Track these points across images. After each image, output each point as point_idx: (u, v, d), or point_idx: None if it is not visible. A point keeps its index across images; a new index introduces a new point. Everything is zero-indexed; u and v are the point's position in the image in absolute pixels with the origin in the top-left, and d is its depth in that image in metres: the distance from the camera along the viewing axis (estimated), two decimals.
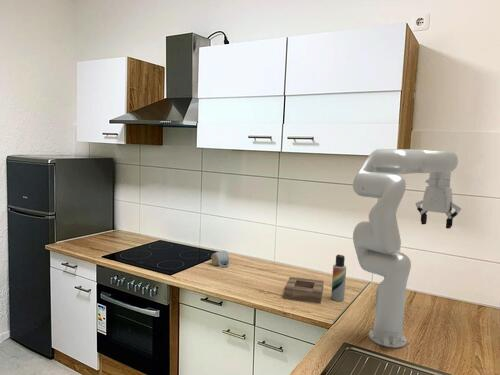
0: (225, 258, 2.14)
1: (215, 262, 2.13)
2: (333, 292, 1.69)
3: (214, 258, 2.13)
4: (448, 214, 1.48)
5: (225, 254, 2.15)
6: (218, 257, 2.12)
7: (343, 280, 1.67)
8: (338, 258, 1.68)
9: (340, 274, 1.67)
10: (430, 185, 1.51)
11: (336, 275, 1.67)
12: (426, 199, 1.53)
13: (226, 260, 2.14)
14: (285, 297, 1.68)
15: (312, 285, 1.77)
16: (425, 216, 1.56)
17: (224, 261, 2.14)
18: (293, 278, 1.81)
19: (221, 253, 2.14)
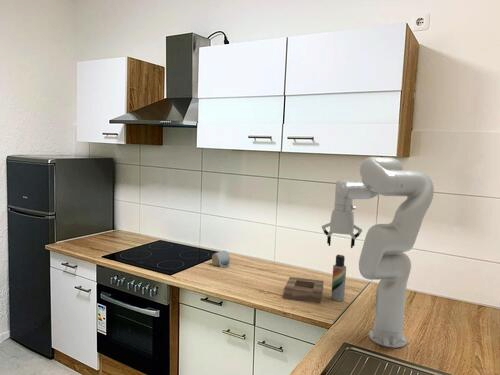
0: (226, 258, 2.13)
1: (216, 262, 2.12)
2: (333, 292, 1.69)
3: (215, 258, 2.13)
4: None
5: (226, 254, 2.14)
6: (219, 258, 2.11)
7: (343, 280, 1.67)
8: (338, 258, 1.68)
9: (340, 274, 1.67)
10: None
11: (336, 275, 1.67)
12: None
13: (227, 260, 2.14)
14: (285, 297, 1.68)
15: (312, 285, 1.77)
16: (351, 240, 1.67)
17: (225, 261, 2.13)
18: (293, 278, 1.81)
19: (222, 253, 2.14)
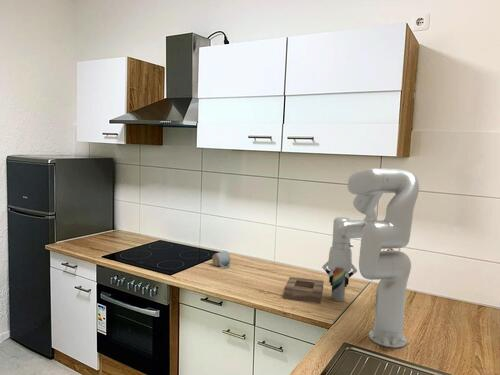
0: (226, 259, 2.13)
1: (216, 263, 2.12)
2: (333, 292, 1.69)
3: (215, 259, 2.12)
4: None
5: (226, 255, 2.14)
6: (219, 258, 2.11)
7: (343, 280, 1.67)
8: None
9: (340, 274, 1.67)
10: None
11: (336, 275, 1.67)
12: None
13: (227, 261, 2.13)
14: (285, 297, 1.68)
15: (312, 285, 1.77)
16: (345, 279, 1.69)
17: (225, 262, 2.13)
18: (293, 278, 1.81)
19: (222, 254, 2.13)
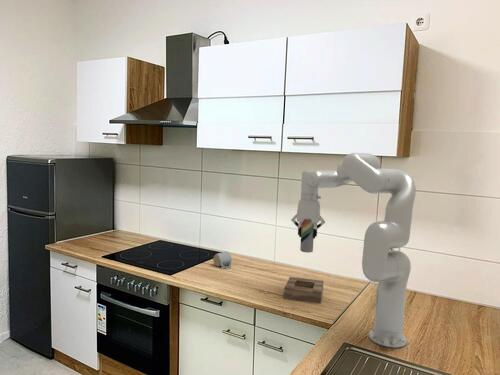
0: (227, 259, 2.12)
1: (217, 263, 2.11)
2: (302, 244, 1.71)
3: (216, 259, 2.11)
4: None
5: (227, 255, 2.13)
6: (220, 258, 2.10)
7: (311, 231, 1.69)
8: None
9: (308, 225, 1.69)
10: None
11: (304, 226, 1.69)
12: None
13: (228, 261, 2.13)
14: (285, 297, 1.68)
15: (312, 285, 1.77)
16: None
17: (226, 262, 2.12)
18: (293, 278, 1.81)
19: (223, 254, 2.13)
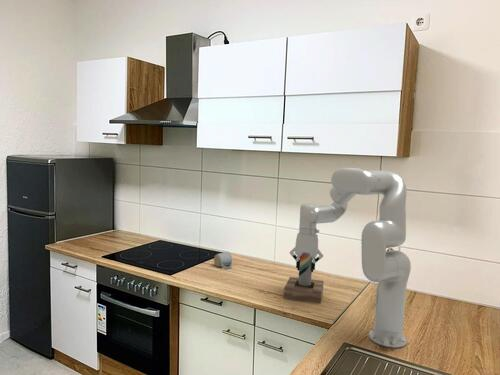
0: (228, 259, 2.12)
1: (218, 263, 2.10)
2: (300, 277, 1.72)
3: (217, 259, 2.11)
4: None
5: (228, 255, 2.12)
6: (221, 259, 2.09)
7: (309, 265, 1.71)
8: None
9: (306, 259, 1.70)
10: None
11: (302, 260, 1.71)
12: None
13: (229, 261, 2.12)
14: (285, 297, 1.68)
15: (312, 285, 1.77)
16: None
17: (227, 262, 2.11)
18: (293, 278, 1.81)
19: (224, 254, 2.12)
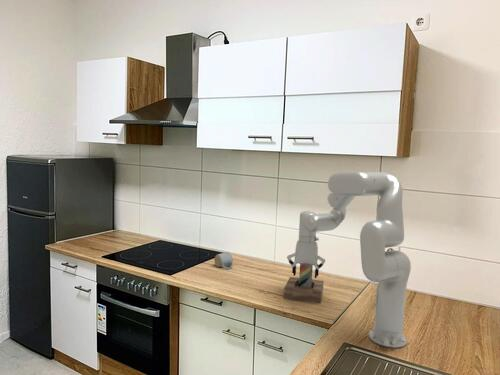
0: (228, 260, 2.11)
1: (218, 264, 2.10)
2: None
3: (217, 260, 2.10)
4: None
5: (228, 256, 2.12)
6: (222, 259, 2.09)
7: (309, 276, 1.71)
8: None
9: (306, 270, 1.70)
10: None
11: (302, 271, 1.71)
12: None
13: (229, 262, 2.12)
14: (285, 297, 1.68)
15: (312, 285, 1.77)
16: (315, 270, 1.72)
17: (227, 263, 2.11)
18: (293, 278, 1.81)
19: (224, 255, 2.12)
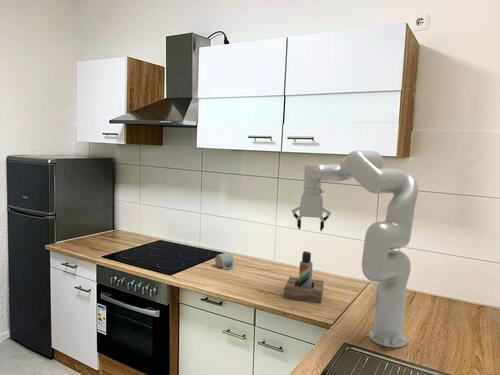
0: (229, 260, 2.10)
1: (219, 264, 2.09)
2: None
3: (218, 260, 2.10)
4: None
5: (229, 256, 2.11)
6: (222, 259, 2.08)
7: (309, 276, 1.71)
8: (304, 255, 1.71)
9: (306, 270, 1.70)
10: None
11: (302, 271, 1.71)
12: None
13: (230, 262, 2.11)
14: (285, 297, 1.68)
15: (312, 285, 1.77)
16: (320, 223, 1.70)
17: (228, 263, 2.10)
18: (293, 278, 1.81)
19: (225, 255, 2.11)
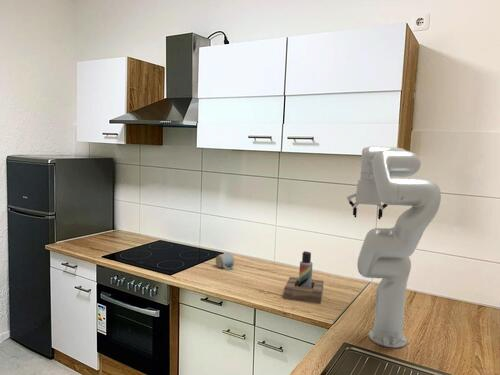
0: (230, 260, 2.10)
1: (220, 264, 2.09)
2: None
3: (219, 260, 2.09)
4: None
5: (230, 256, 2.11)
6: (223, 259, 2.08)
7: (309, 276, 1.71)
8: (304, 255, 1.71)
9: (306, 270, 1.70)
10: None
11: (302, 271, 1.71)
12: None
13: (231, 262, 2.10)
14: (285, 297, 1.68)
15: (312, 285, 1.77)
16: None
17: (229, 263, 2.10)
18: (293, 278, 1.81)
19: (226, 255, 2.10)
